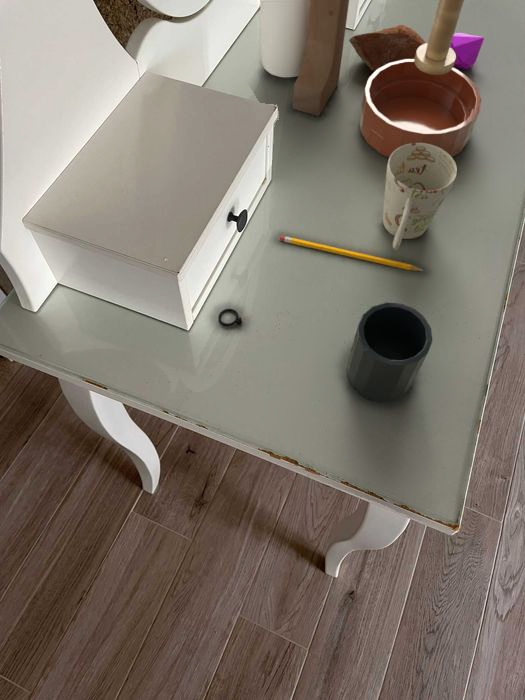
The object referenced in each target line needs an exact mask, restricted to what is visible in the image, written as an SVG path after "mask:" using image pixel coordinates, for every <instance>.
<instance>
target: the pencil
mask: <svg viewBox="0 0 525 700" xmlns="http://www.w3.org/2000/svg"><path fill="white" fill-rule="evenodd" d="M279 241H280V242H284V243H288V244H293V245H297V246H302V247H306V248H310V249H313V250H314V249H315V250H319V251H323V252H327V253H332V254H337V255H341V256H345V257H350V258H354V259H358V260H362V261H368V262H372V263H376V264H380V265H385V266H389V267H393V268H399V269H402V270H408V271H413V272H414V271H416V272H417V271H418V272H424V270H423V269H422V268H419V267H418V266H415V265H413V264H410V263H405V262H402V261H396V260H392V259H387V258H383V257H379V256H375V255H370V254H365V253H360V252H358V251H357V252H356V251H352V250H347V249H344V248H340V247H335V246H330V245H325V244H322V243H317V242H312V241H307V240H304V239H300V238H295V237H291V236H286V235H280V236H279Z"/></svg>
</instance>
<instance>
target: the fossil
mask: <svg viewBox="0 0 525 700" xmlns="http://www.w3.org/2000/svg"><path fill="white" fill-rule="evenodd" d="M348 41H349V43H350V44H351V46H352V47H353V49H354V51H355V53H356V54H357V56H358V57H359V58H360V59H361V60H362V62H364V63H365V64H366V66H367V67H368V69H369V70H370V71H372V72H373V73H374V72H375V71H376V70H377V69H378V68H380V67H382V66H384V65H386V64H388V63H391V62H395V61H399V60H404V59H414V58H415V54H416V51H417V49H418V47H419V46H421V45H422V44H425V43H427V42H426V41H425V40H424V39H423V38H422V36H421V35H420V34H418V33H417V32H416V31H415V30H414V29H412V28H411V27H408V26H406V25H403V24H399V25H396V26H393V27H388V28H383V29H381V30H377V31H372V32H367V33H361V34H356V35H353V36H352V37H350V38H349V40H348Z"/></svg>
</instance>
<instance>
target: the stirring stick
mask: <svg viewBox="0 0 525 700" xmlns="http://www.w3.org/2000/svg"><path fill="white" fill-rule="evenodd" d="M464 2H465V0H438V3H437V8H436V11H435V14H434V19H433V22H432V27H431V30H430V34H429V37H428V41H427V42H426V43H425V44H422V45H421V46H419V47H418V49H417V51H416V54H415V58H414V62H415V65H416V66H417V68H418V69H420V70H421V71H423V72H425V73H428V74H433V75H441V74H445V73H448V72H449V71H451V69H452V68H454V67H453V66H454V63H455V60H456V54H455V52H454V50H453V49H452V48H450V45H451V42H452V38H453V35H454V34H455V33H456V32H455V31H456V28H457V26H458V21H459V19H460V15H461V11H462V9H463V5H464Z"/></svg>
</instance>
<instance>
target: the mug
mask: <svg viewBox="0 0 525 700" xmlns="http://www.w3.org/2000/svg"><path fill="white" fill-rule="evenodd" d="M457 173H458V168H457V164H456V161H455V160H454V158H453V157H451V156H450V155H449V154H448V153H447V152H445V151H444V150H442V149H441V148H439V147H436V146H434V145H430V144H426V143H411V144H406V145H403V146H401V147H399V148H397V149H396V150H395V151H394V152H393V153H392V154H391V156H390V158H389V157H388V161H387V165H386V175H385V185H384V186H385V187H384V200H383V210H382V211H383V212H382V224H383V226H384V228H385V230H386V231H387V232H388V233H389V234H391V235H392V236H394V238H393V241H392V248H393V250H396V251H397V250H399V248H400V246H401V243H402V240H403V239H404V240H411V239H416V238H418V237H421V236H422V235H423V234H424V233H426V230H427V229H428V228H429V225H430V223H432V220H433V219H434V217H435V215H436V214H437V212H438V210H439V208H440V207H441V205H442V204H443V202H444V200H445V198H446V196H447V195H448V193H449V191H450V190H451V188H452V187H453V184H454V183H455V180H456V179H457Z"/></svg>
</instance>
